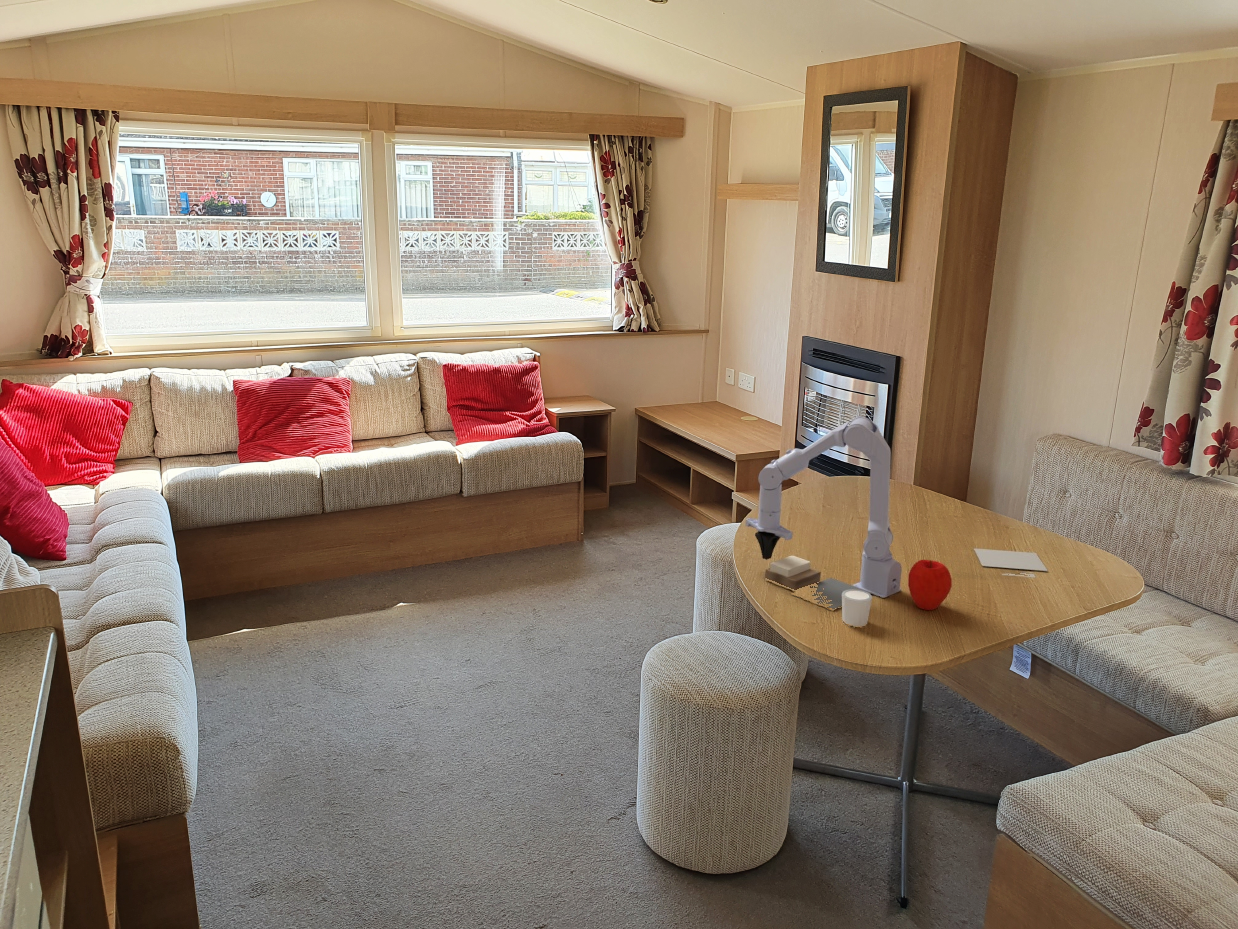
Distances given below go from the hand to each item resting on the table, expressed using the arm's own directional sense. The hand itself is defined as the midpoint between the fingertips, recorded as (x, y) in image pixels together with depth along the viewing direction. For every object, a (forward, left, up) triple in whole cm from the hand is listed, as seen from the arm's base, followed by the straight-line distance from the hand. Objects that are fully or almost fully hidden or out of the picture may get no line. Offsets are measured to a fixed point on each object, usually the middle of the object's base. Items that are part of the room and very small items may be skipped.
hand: (766, 558), depth 241 cm
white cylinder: (-34, +8, -4) cm, 35 cm away
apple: (-40, -13, -4) cm, 42 cm away
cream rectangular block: (-8, 0, -1) cm, 8 cm away
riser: (-9, 0, -4) cm, 10 cm away
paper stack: (-37, -53, -4) cm, 65 cm away
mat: (-21, -1, -4) cm, 21 cm away
